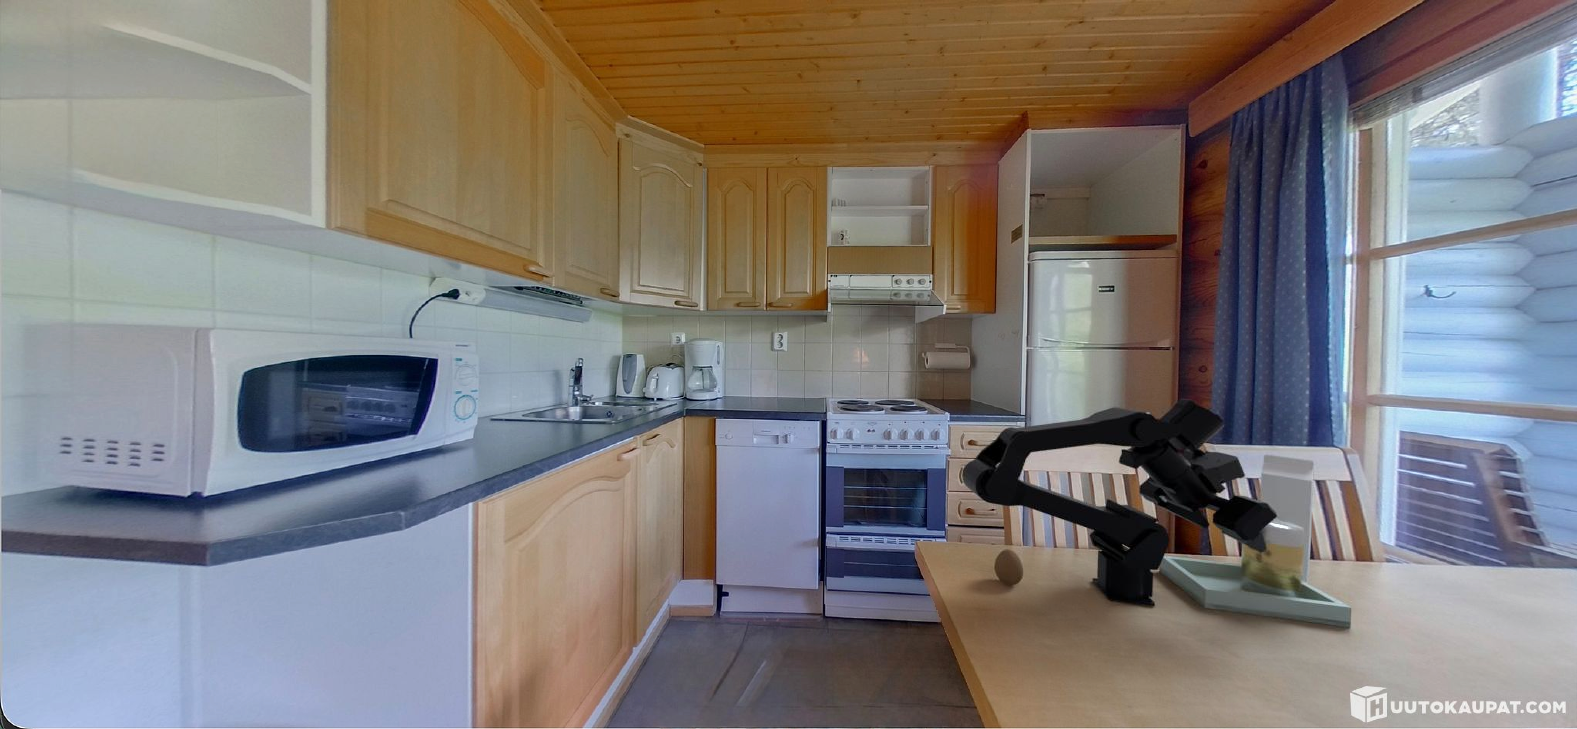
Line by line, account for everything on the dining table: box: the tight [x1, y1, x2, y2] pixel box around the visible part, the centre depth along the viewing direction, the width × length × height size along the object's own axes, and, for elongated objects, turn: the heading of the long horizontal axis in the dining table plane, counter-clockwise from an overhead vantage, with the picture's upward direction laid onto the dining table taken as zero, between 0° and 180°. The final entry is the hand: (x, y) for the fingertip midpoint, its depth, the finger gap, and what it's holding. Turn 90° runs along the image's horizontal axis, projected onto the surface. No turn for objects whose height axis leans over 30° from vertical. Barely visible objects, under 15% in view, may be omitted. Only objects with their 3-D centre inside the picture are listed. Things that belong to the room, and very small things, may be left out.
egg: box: [993, 548, 1024, 586], centre depth 74 cm, size 4×4×6 cm
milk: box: [1259, 454, 1314, 584], centre depth 79 cm, size 6×6×22 cm
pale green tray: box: [1159, 555, 1352, 628], centre depth 71 cm, size 18×12×3 cm, turn 76°
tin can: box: [1240, 519, 1304, 598], centre depth 70 cm, size 7×7×12 cm
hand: (1233, 537), depth 70 cm, fingers open, 9 cm apart
